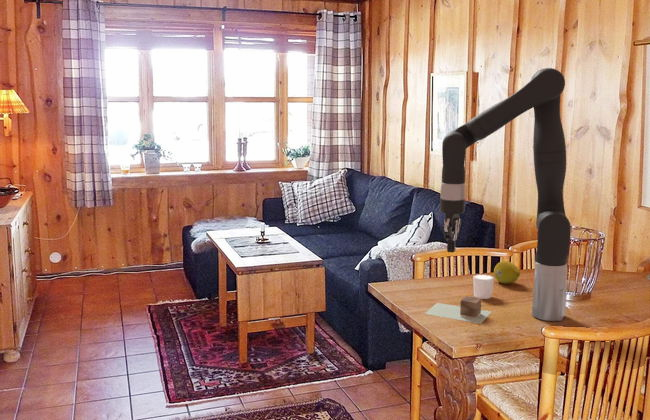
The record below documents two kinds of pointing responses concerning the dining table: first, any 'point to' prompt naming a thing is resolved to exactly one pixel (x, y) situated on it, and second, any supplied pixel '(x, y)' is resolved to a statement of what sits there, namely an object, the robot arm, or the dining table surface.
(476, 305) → the copper block
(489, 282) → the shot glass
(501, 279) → the lemon
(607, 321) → the dining table surface
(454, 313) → the rubber mat
